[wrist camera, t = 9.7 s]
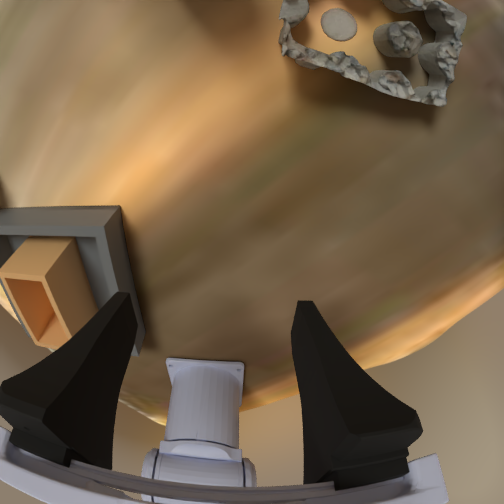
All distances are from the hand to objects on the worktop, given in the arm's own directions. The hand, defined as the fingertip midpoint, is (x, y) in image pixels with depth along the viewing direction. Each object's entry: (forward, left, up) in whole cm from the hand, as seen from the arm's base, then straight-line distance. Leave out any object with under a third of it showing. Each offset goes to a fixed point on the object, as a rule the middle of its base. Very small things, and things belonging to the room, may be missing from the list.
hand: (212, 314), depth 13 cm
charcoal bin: (-6, +14, -9) cm, 18 cm away
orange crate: (-6, +14, -9) cm, 18 cm away
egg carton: (+13, -8, -10) cm, 18 cm away
